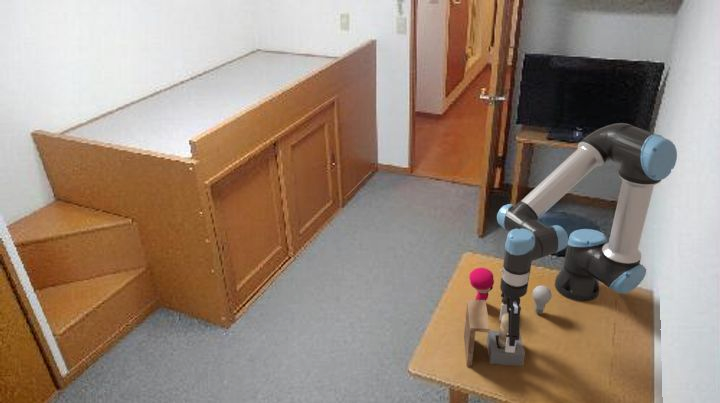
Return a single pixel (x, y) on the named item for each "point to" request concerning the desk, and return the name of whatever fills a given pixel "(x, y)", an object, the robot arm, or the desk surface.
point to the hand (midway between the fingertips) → (506, 335)
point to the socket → (500, 355)
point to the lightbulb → (541, 298)
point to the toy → (482, 282)
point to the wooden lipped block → (474, 325)
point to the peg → (503, 332)
